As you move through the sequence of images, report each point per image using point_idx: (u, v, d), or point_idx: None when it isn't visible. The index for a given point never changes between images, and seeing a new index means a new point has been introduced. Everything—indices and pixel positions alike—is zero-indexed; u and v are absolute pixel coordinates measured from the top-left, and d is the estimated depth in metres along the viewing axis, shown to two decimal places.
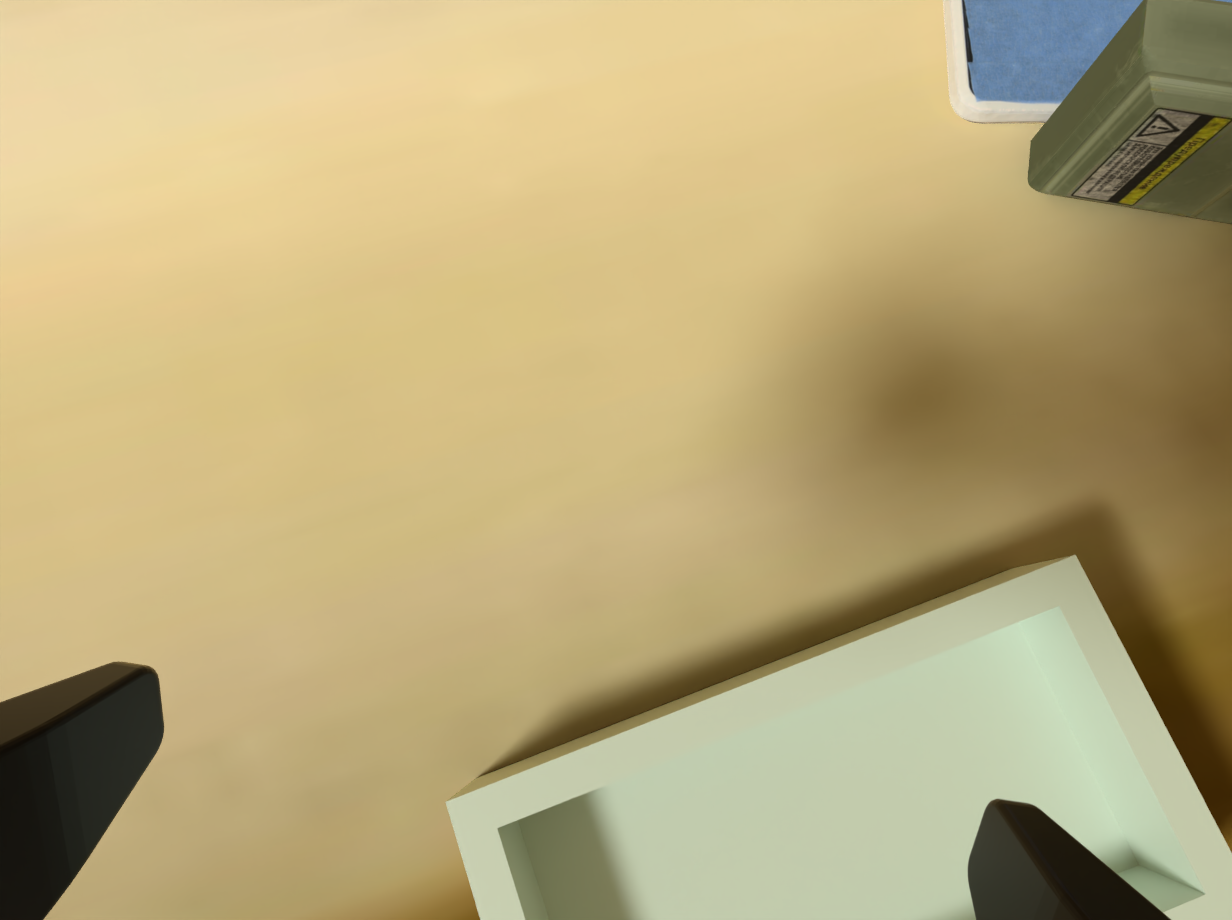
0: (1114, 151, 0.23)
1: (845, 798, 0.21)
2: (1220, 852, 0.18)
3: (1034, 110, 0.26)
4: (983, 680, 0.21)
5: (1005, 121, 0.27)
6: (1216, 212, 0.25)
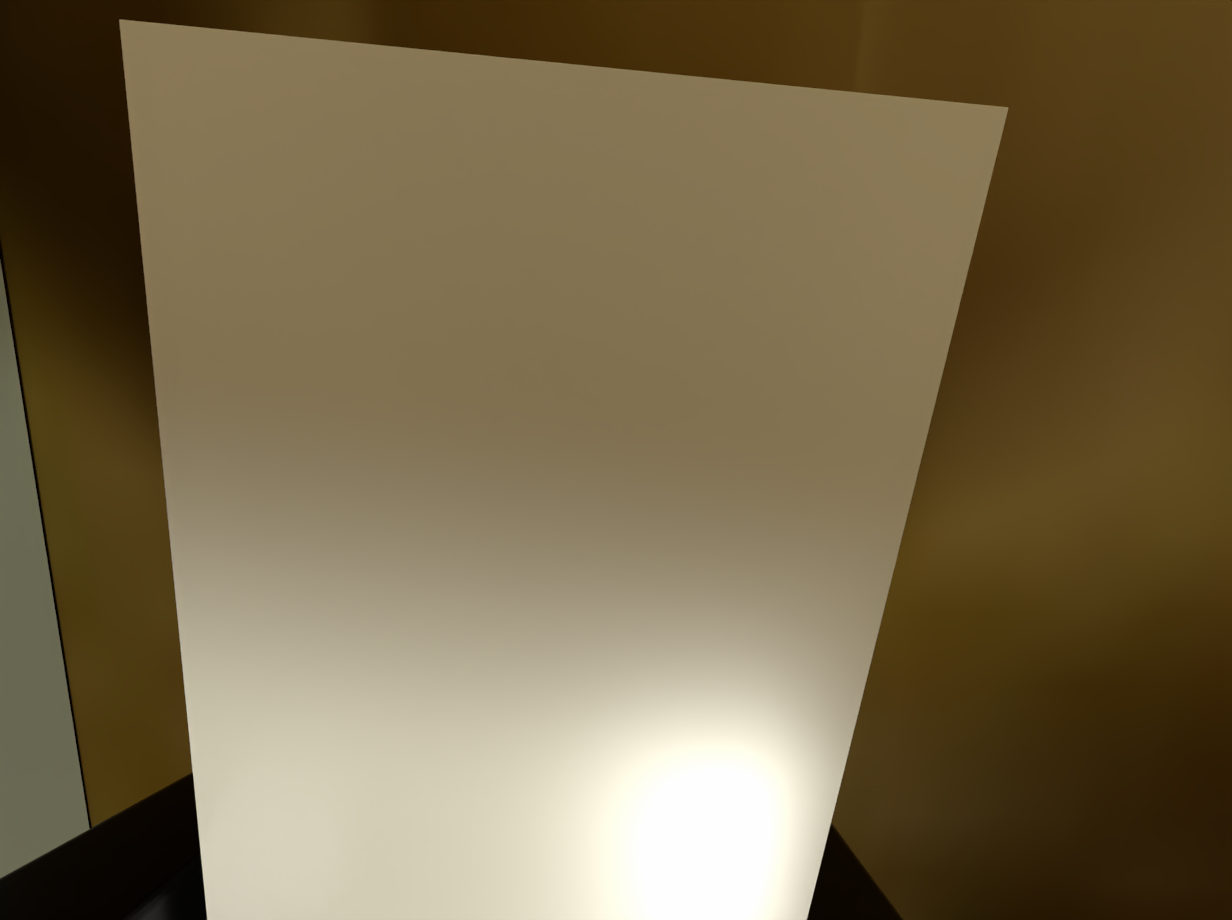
0: None
1: None
2: None
3: None
4: None
5: None
6: None
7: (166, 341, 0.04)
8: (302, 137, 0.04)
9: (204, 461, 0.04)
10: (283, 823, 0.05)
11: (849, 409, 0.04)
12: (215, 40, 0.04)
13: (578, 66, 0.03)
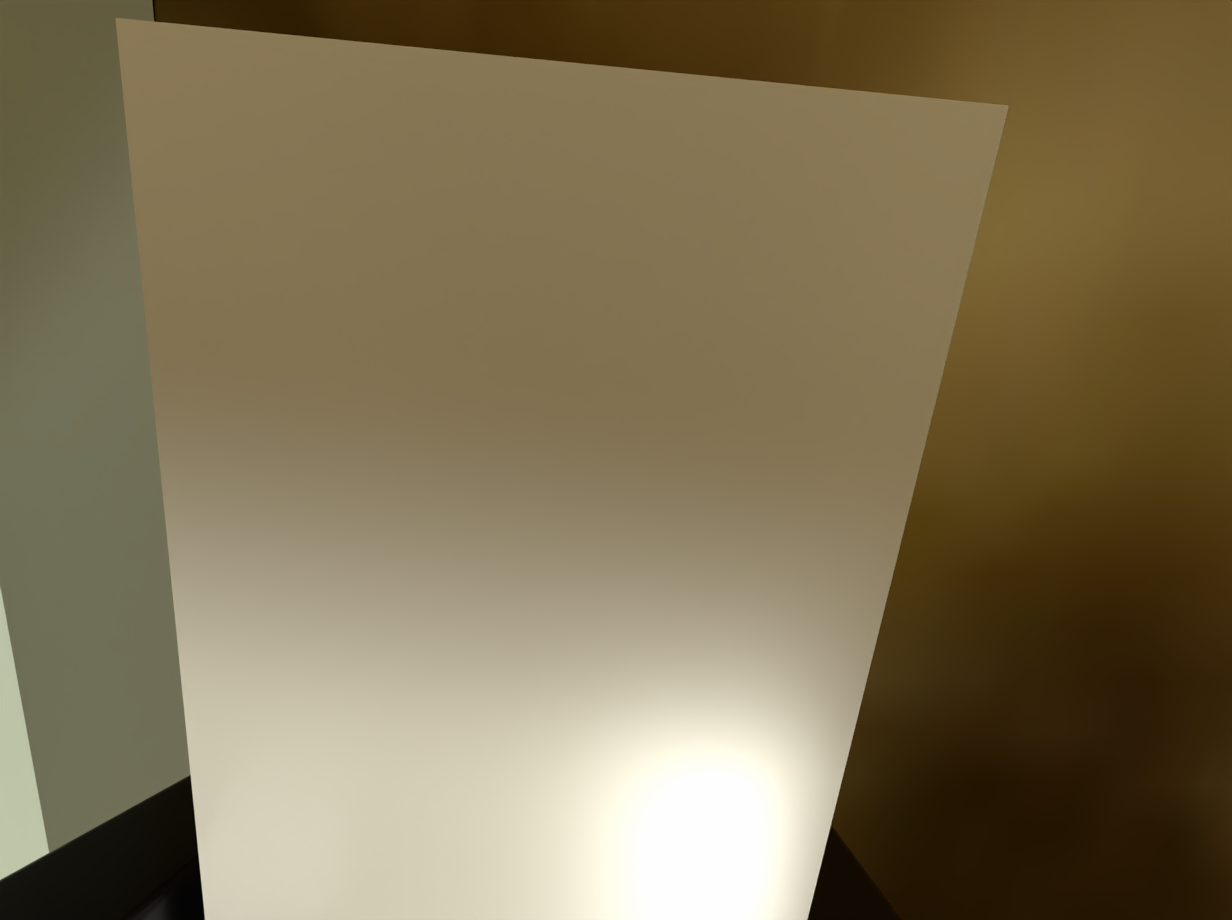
0: None
1: None
2: None
3: None
4: None
5: None
6: None
7: (164, 341, 0.04)
8: (299, 136, 0.04)
9: (200, 461, 0.04)
10: (281, 825, 0.05)
11: (849, 409, 0.04)
12: (212, 39, 0.04)
13: (576, 64, 0.03)
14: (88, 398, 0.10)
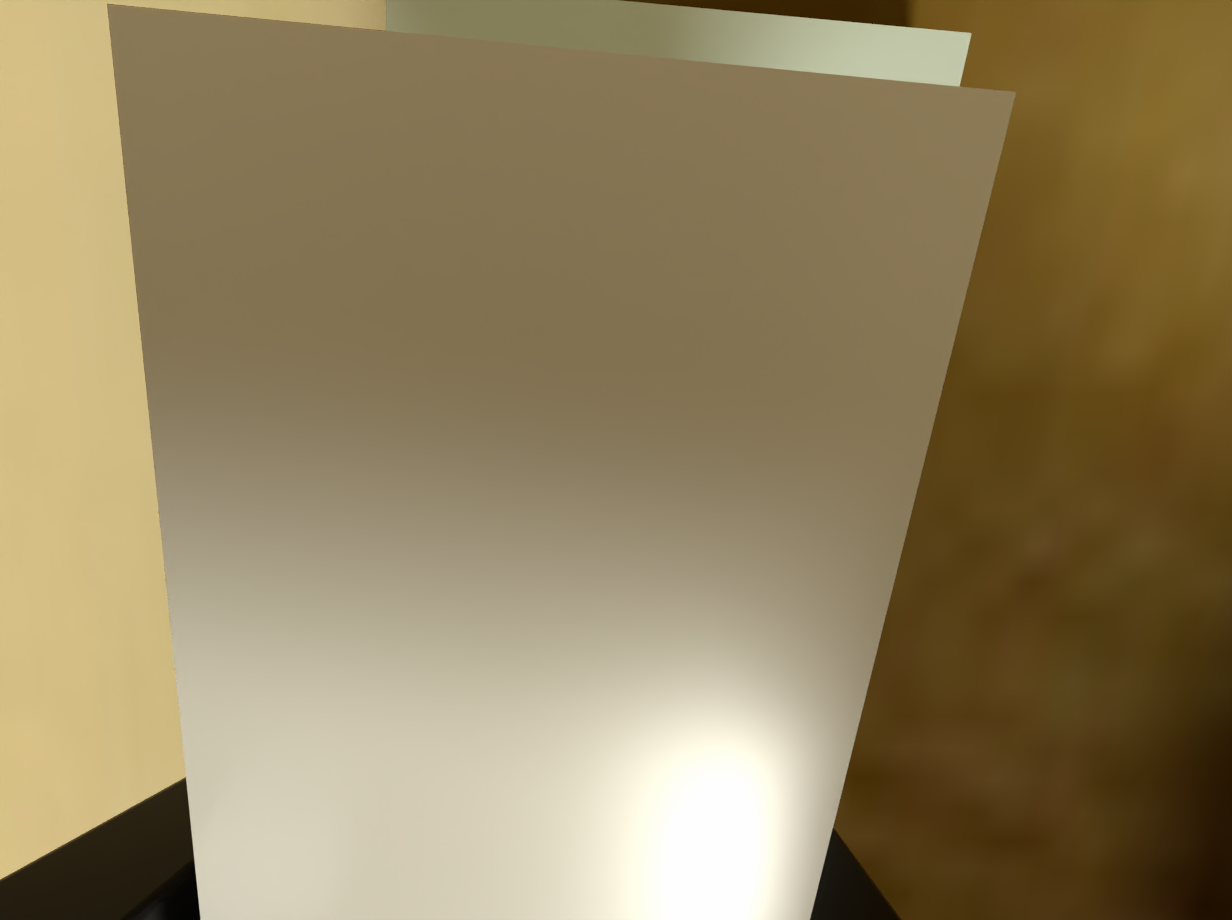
0: None
1: None
2: (855, 40, 0.12)
3: None
4: None
5: None
6: None
7: (158, 333, 0.04)
8: (294, 124, 0.04)
9: (195, 456, 0.04)
10: (277, 825, 0.05)
11: (853, 402, 0.04)
12: (205, 25, 0.03)
13: (576, 51, 0.03)
14: None
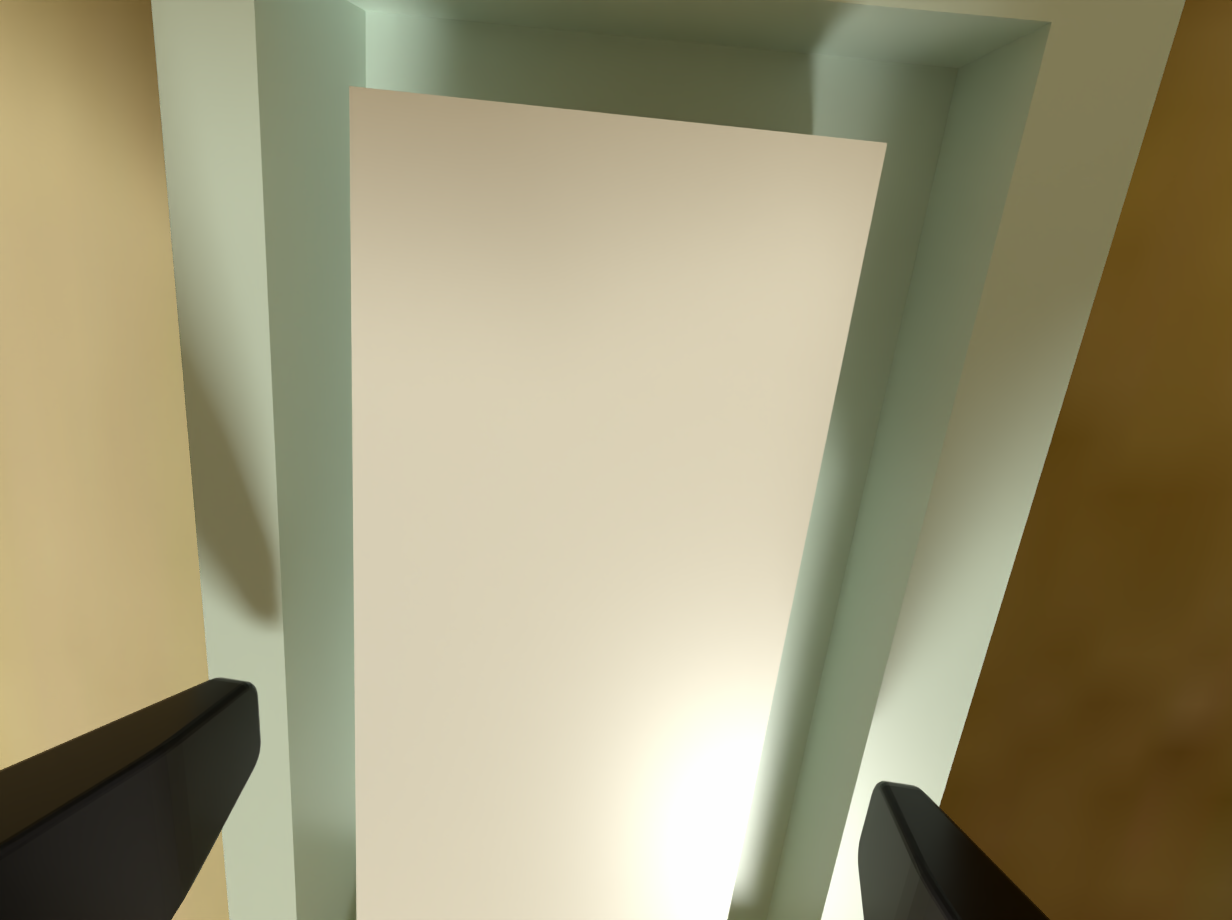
0: None
1: None
2: None
3: None
4: None
5: None
6: None
7: (361, 288, 0.06)
8: (459, 158, 0.06)
9: (379, 367, 0.07)
10: (414, 627, 0.07)
11: (797, 328, 0.06)
12: (409, 99, 0.06)
13: (631, 117, 0.06)
14: None
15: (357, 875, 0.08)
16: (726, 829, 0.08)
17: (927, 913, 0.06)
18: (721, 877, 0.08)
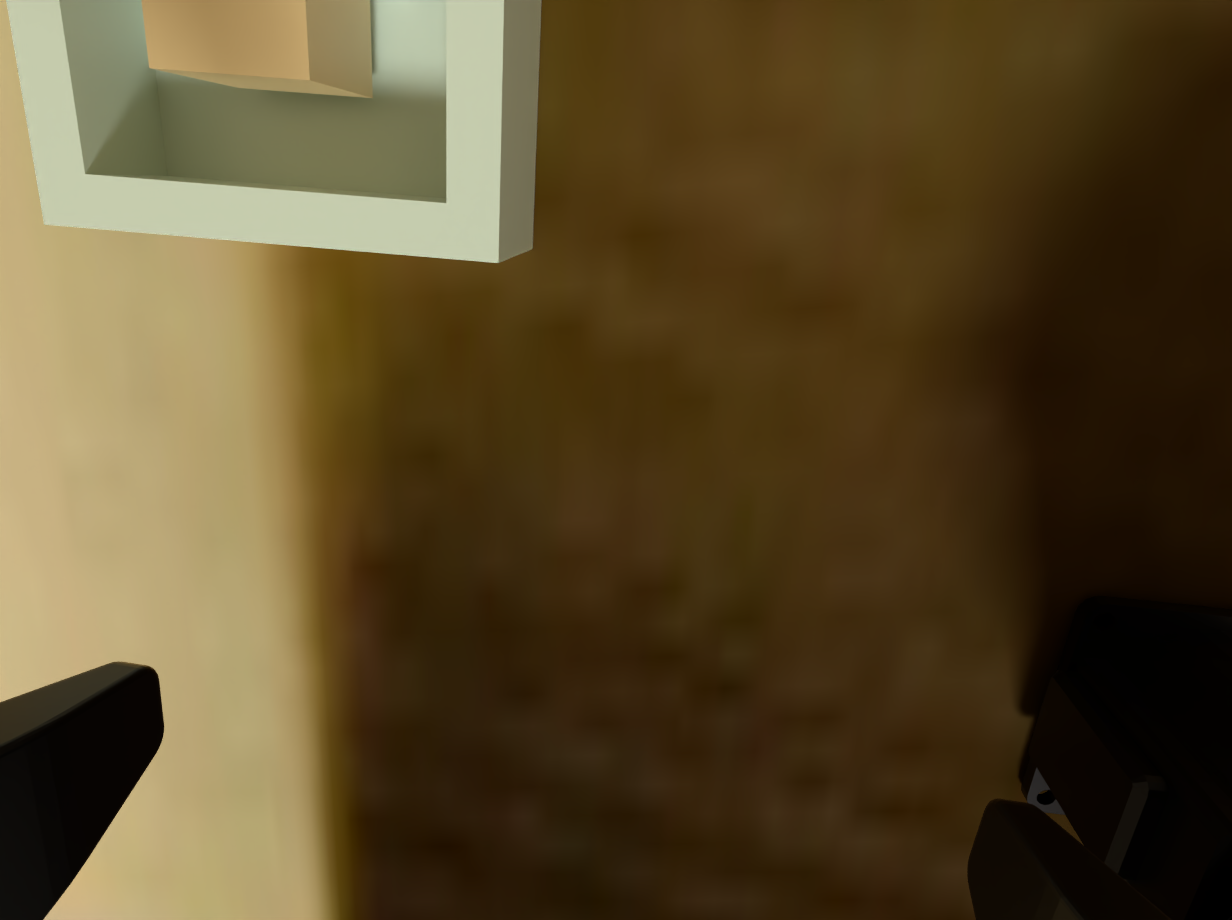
0: None
1: None
2: None
3: None
4: None
5: None
6: None
7: None
8: None
9: None
10: None
11: None
12: None
13: None
14: None
15: None
16: None
17: None
18: None
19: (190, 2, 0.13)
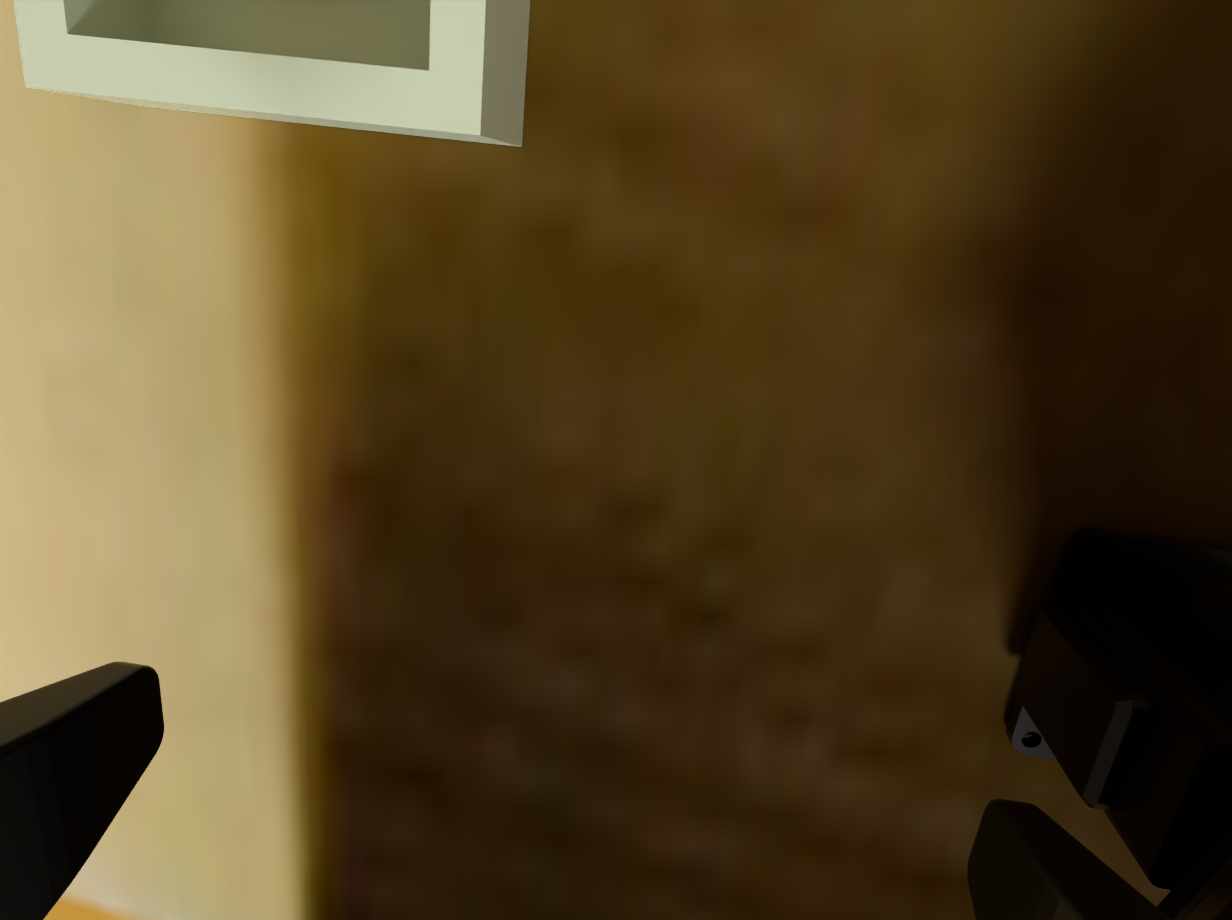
0: None
1: None
2: None
3: None
4: None
5: None
6: None
7: None
8: None
9: None
10: None
11: None
12: None
13: None
14: None
15: None
16: None
17: None
18: None
19: None
